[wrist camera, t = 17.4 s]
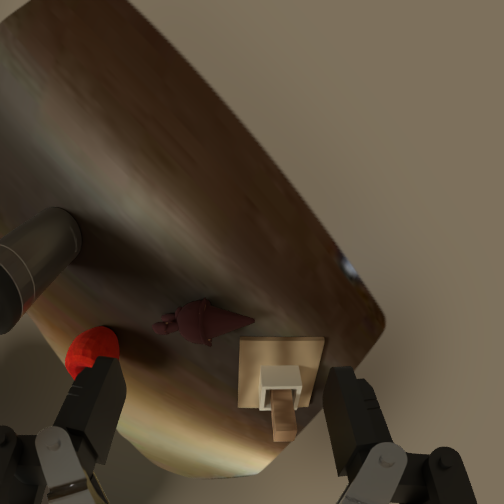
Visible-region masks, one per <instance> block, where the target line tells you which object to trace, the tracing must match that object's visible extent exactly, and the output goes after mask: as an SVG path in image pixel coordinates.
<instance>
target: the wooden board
mask: <svg viewBox="0 0 504 504" xmlns="http://www.w3.org/2000/svg"><path fill="white" fill-rule="evenodd" d="M324 342H325V340H324V337H243V336H240V353H239V386H238V408H259V379H260V368H261V365H267V366H281V365H299V370H300V376H301V381H302V390H301V394H300V398H299V403H298V407H308V405H309V401H310V398H311V394H312V390H313V386H314V383H315V379H316V375H317V371H318V367H319V363H320V359H321V355H322V350H323V346H324Z"/></svg>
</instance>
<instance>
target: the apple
mask: <svg viewBox="0 0 504 504" xmlns="http://www.w3.org/2000/svg"><path fill="white" fill-rule="evenodd" d="M119 355H120V352H119V343H118V339H117V336H116V334H115V333H114V332H113V331H112V330H111V329H109V328H106V327H103V326H99V327H94V328H92V329H90V330H87V331H85V332H83V333H81V334H80V335H78V336H77V337H76V338H75V339H74V341H73V342H72V344H71V346H70V347H69V350H68V352H67V355H66V358H65V366H66V368H67V371H68V372H69V374H70V375H71V376H72V377H73V379H74V380H75V378H76V376H77V375H78V374H79V373H80V372H81V371H82V370H83V369H84V368H85V367H91V368H92V366H93V364H94V362H95V360H96V358H97V357H98V356H106V357H113V358H117V359H118V360H119Z"/></svg>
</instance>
